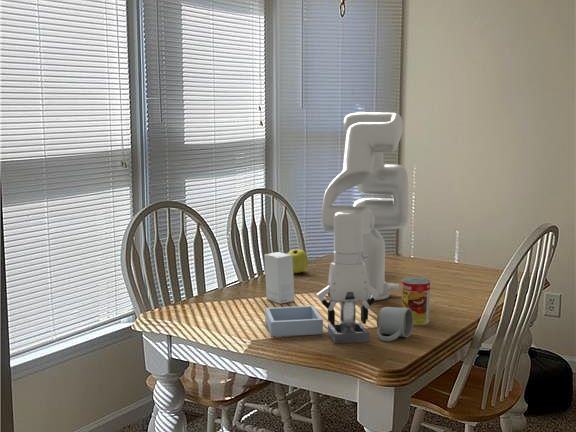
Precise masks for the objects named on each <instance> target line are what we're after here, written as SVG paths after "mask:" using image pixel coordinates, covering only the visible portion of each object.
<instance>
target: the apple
mask: <svg viewBox="0 0 576 432" xmlns="http://www.w3.org/2000/svg"><path fill="white" fill-rule="evenodd" d="M286 254H290V255H292V260H293V274H297V273H298V274H300V273H302V272H304V271H306V270H307V269H308V267H309V266H308V265H309V261H308V255H307V253H306V252H305V250H303V249H299V248H294V249H291V250H290V251H288V252H287V253H286Z"/></svg>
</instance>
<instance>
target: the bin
mask: <svg viewBox="0 0 576 432" xmlns="http://www.w3.org/2000/svg"><path fill="white" fill-rule="evenodd" d="M264 310H265V313H264V315H265V316H264V319H265V324H266V328H267V329H268V332H269V334H270V337H289V336H290V337H291V336H292V337H293V336H307V335H324V326H323V325H324V321H323V317H322V316H321V315H320V313H319V312H318V311H319V310H317V308H316V307H315V305H299V306H298V305H296V306H280V307H279V306H278V307H277V306H276V307H274V306H273V307H265V308H264Z"/></svg>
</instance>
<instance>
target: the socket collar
mask: <svg viewBox="0 0 576 432" xmlns="http://www.w3.org/2000/svg"><path fill="white" fill-rule="evenodd" d="M327 334H328V335H329V338H330V339H331V340H332V342H333V343H334V344H336V345H337V344H350V343H351V344H352V343H369V341H370V340H369V339H370V338H369V336H370V335H369V331H368V330H367V329H366V327H365V326H364V324H363V323H362V321H361V322H356V328H355V332H347V333H340V323H335V325H331V323H328V324H327Z"/></svg>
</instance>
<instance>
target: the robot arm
mask: <svg viewBox="0 0 576 432" xmlns="http://www.w3.org/2000/svg"><path fill="white" fill-rule="evenodd" d="M343 128H344V131H345V134H346V135H345V143H344V152H343V162H342V163H343V164H342V170H341V172H340V173H338V175H337V176H336V177H334V179H332V181H330V183H329V185H328V186H327V187H326V189H325V192H324V194H323V196H322V198H323V199H322V204H321V205H322V206H321V211H320V212H321V213H320V224H321V228H322V229H323V231H324V232H326V233H328V234H333V261H332V262H330V265H329V270H328V278H327V286H326V287H324V288H322V290H320V291H319V292H318V293H316V297H317V298H318V300H319V301H320V302H321V304H322V305H323V306H324V307H325V308H326V309H327V322H329V324H331V325H335V324H336V322H335V321H336V311H335V307H336V305H337V304H338V303H340V302H345V301H356V302H360V303H361V307H360V321H361V324H363V325H366V324H367V320H369V309H370V307H371V306H372V305H373V304H374V303H375V301H381V300H385V299H388V298H389V297H390V291H391V290H393V291H398V290H399V291H400V284H399V283H394V282H387V281H385V280H386V279H385V276H386V275H385V274H386V272H385V270H386V269H385V266H386V259H385V258H386V242H385V239H384V237H383V236H382V234H381V232H380V231H379V230H378V229H387V230H388V229H393V230H397V229H399V230H400V229H404V228H405V227H406V226H407V225H408V221H409V178H408V175H409V174H408V171H407V169H406V168H405V167H404V166H403V165H401V164H393V163H392V164H390V163H389V164H387V163H385V162H384V153H393V152H395V151H396V150H397V148H398V146H399V143H400V140H401V138H402V135H403V130H404V122H403V118H402V116H401V115H400V114H399V113H397V112H381V111H380V112H378V111H377V112H374V111H371V112H369V111H367V112H366V111H365V112H361V111H360V112H359V111H358V112H352V113H349V114H346V115H345V117H344V119H343ZM354 187H356V189H357V191H358V192H359V193H360V194H362V195H371V196H372V195H373V196H391V197H392V198H391V197H390V198H389V197H388V198H387V197H362V198H359V199H356V200H355V201H354V202H353V204H352V205H335V201H336V200H337V198H338V197H339V195H341V194H342V193H344V192H346V191H348V190H349V189H352V188H354ZM347 292H353V294H354V298H355V299H351V300H346V299H345V297H346V294H347ZM326 295H327V296H328V297H329V298H330V299H329V300H328V301H327V300H326V299H325V296H326Z"/></svg>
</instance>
